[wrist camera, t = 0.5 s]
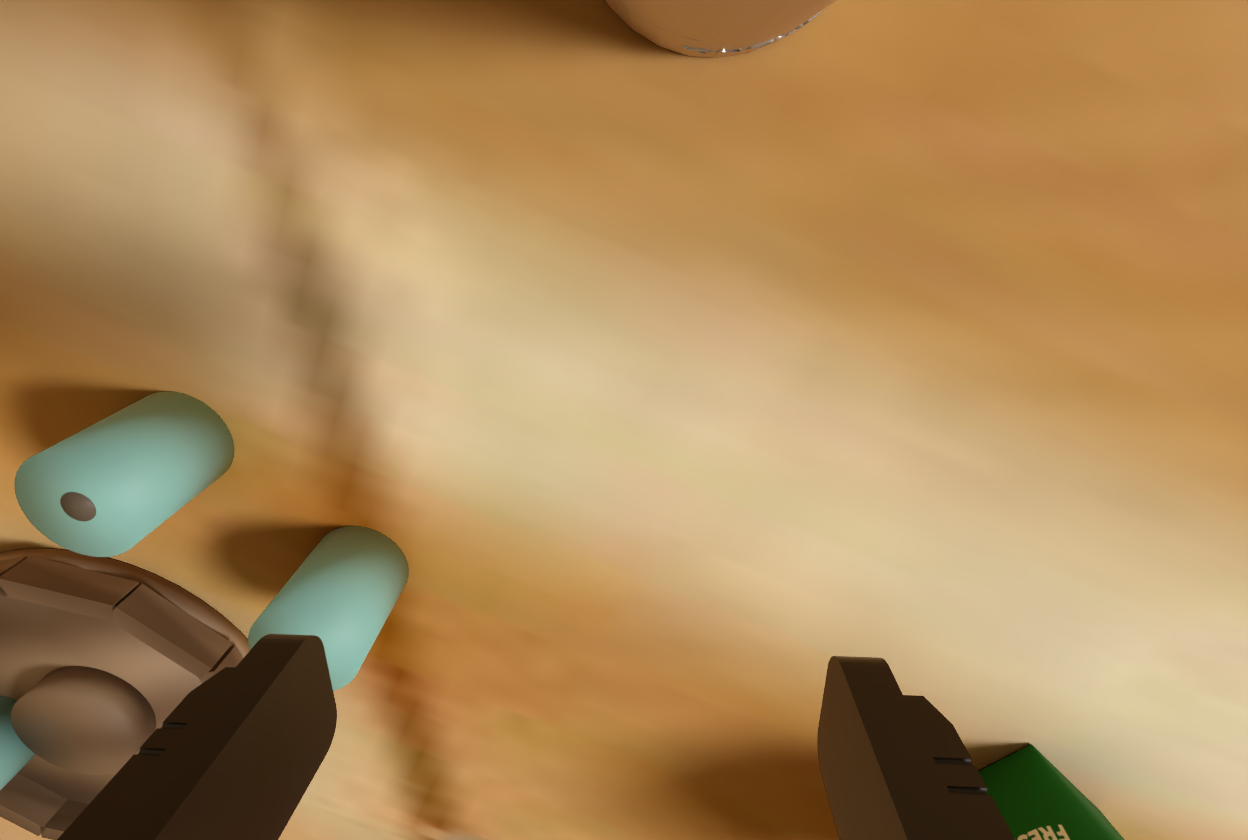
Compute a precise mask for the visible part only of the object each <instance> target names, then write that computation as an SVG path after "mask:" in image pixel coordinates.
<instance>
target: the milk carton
mask: <svg viewBox="0 0 1248 840" xmlns="http://www.w3.org/2000/svg"><path fill="white" fill-rule="evenodd" d="M978 772H979V774H980V776H981V778H982V779H983V781H984V783H985V785H986V787H987V793H988V795H991V796H992V798H993V800H994V801H995V803H996V805H997V807H998V809H999V811H1000V812H1001V814H1002V816H1003V818H1004V820H1005V822H1006V823H1007V825H1008V827H1009V829H1010V831H1011V833H1012V834H1013V836H1014V838H1015V840H1124V838H1123V837H1122V836H1121V835H1120V834H1119V833H1118V832H1117V830H1116V829H1115V828H1114V827H1113V826H1112V825H1111V823H1110V822H1109V821H1108V820H1107V819H1106V817H1105V816H1104V815H1103V814H1102V812H1101V811H1100V810H1099V809H1098V808H1097V807H1096V806H1095V805H1094V804H1093V803H1092V802H1090V801H1089V800H1088V799H1087V798H1086V797H1085V796H1084V795H1083V794H1082V793H1081V792H1080V791H1079V790H1078V789H1077V788H1076V787H1075V786H1074V785H1073V784H1072V783H1071V782H1070V781H1069V780H1068V779H1067V778H1066V777H1065V776H1064V775H1063V774H1062V773H1061V772H1059V771H1058V770H1057V769H1056V768H1055V767H1054V766H1053V765H1052V764H1051V763H1050V762H1049V761H1048V760H1047V759H1046V758H1045V757H1044V756H1043V755H1042V754H1041V753H1040V752H1039V751H1038V750H1037V749H1036V748H1035V747H1034V746H1033V745H1029V746H1027V747H1025V748H1023V749H1021V750H1019V751H1017V752H1015V753H1013V754H1011V755H1009V756H1008V757H1006V758H1004V759H1002V760H1000V761H998V762H996V763H994V764H992V765H990V766H988V767H986V768H984V769H982V770H980V771H978Z"/></svg>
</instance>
